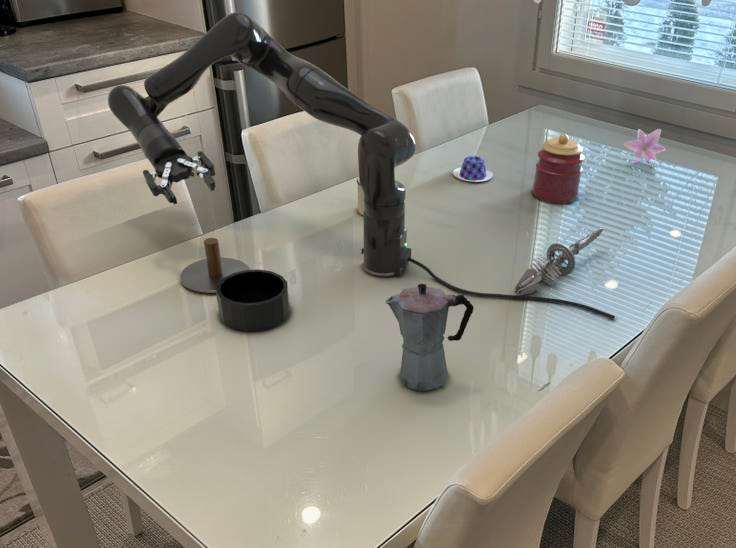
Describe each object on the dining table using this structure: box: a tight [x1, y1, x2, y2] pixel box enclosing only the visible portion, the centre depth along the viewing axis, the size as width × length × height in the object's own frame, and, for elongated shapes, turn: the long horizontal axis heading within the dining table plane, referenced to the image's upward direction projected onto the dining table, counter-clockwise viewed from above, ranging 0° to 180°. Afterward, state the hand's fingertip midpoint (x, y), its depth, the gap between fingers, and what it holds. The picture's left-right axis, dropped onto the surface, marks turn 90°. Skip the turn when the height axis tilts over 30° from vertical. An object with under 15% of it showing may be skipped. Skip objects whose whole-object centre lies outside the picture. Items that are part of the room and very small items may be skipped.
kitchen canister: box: [532, 133, 585, 205], centre depth 204 cm, size 13×13×18 cm
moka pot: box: [384, 283, 474, 392], centre depth 131 cm, size 10×15×20 cm, turn 95°
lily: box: [623, 128, 667, 168], centre depth 234 cm, size 12×12×10 cm
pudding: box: [452, 155, 494, 183], centre depth 216 cm, size 12×12×5 cm
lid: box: [179, 237, 251, 294], centre depth 160 cm, size 15×15×9 cm
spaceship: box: [512, 227, 604, 296], centre depth 170 cm, size 8×35×8 cm
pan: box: [215, 269, 290, 333], centre depth 150 cm, size 14×14×6 cm
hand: (194, 194), depth 156 cm, fingers open, 8 cm apart
